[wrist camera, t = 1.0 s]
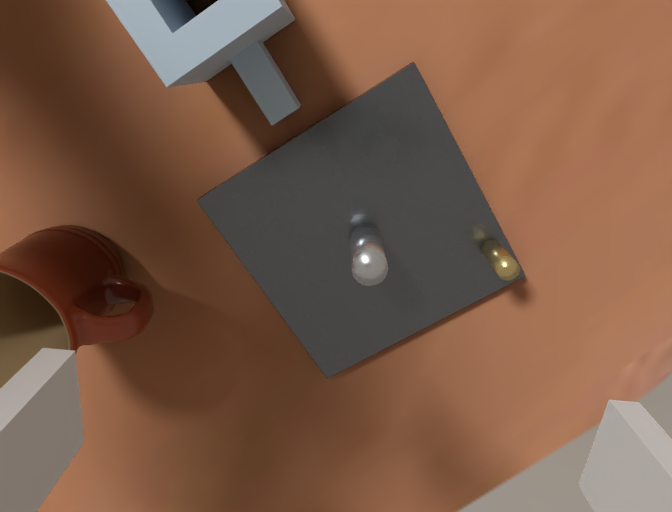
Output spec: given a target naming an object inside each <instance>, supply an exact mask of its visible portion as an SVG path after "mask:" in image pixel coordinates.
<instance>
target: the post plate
mask: <svg viewBox="0 0 672 512" xmlns="http://www.w3.org/2000/svg"><path fill="white" fill-rule="evenodd" d="M197 202H198V203H199V204H200V206H201V207H202V209H203V210H204V211H205V213H206V214H207V215H208V217H209V218H210V219H211V221H212V222H213V224H214V225H215V226H216V228H217V229H218V230H219V232H220V233H221V234H222V236H223V237H224V239H225V240H226V241H227V243H228V244H229V245H230V247H231V248H232V249H233V251H234V252H235V254H236V255H237V256H238V258H239V259H240V260H241V262H242V263H243V264H244V266H245V267H246V269H247V270H248V271H249V273H250V274H251V275H252V277H253V278H254V279H255V281H256V282H257V284H258V285H259V286H260V288H261V289H262V290H263V292H264V293H265V294H266V296H267V297H268V299H269V300H270V301H271V303H272V304H273V305H274V307H275V308H276V310H277V311H278V312H279V314H280V315H281V316H282V318H283V319H284V320H285V322H286V323H287V325H288V326H289V327H290V329H291V330H292V331H293V333H294V334H295V335H296V337H297V338H298V340H299V341H300V342H301V344H302V345H303V346H304V348H305V349H306V350H307V352H308V353H309V355H310V356H311V357H312V359H313V360H314V361H315V363H316V364H317V365H318V367H319V368H320V370H321V371H322V372H323V374H324V375H325V376H326V378H329V377H331V376H333V375H335V374H337V373H339V372H341V371H343V370H345V369H346V368H348V367H350V366H352V365H354V364H356V363H358V362H360V361H362V360H364V359H366V358H368V357H370V356H372V355H374V354H375V353H377V352H379V351H381V350H383V349H385V348H387V347H389V346H391V345H393V344H395V343H397V342H399V341H401V340H403V339H404V338H406V337H408V336H410V335H412V334H414V333H416V332H418V331H420V330H422V329H424V328H426V327H428V326H430V325H432V324H433V323H435V322H437V321H439V320H441V319H443V318H445V317H447V316H449V315H451V314H453V313H455V312H457V311H459V310H461V309H462V308H464V307H466V306H468V305H470V304H472V303H474V302H476V301H478V300H480V299H482V298H484V297H486V296H488V295H490V294H491V293H493V292H495V291H497V290H499V289H501V288H503V287H505V286H507V285H509V284H511V283H513V282H515V281H517V280H519V279H520V278H522V277H524V276H525V274H524V272H523V270H522V268H521V266H520V265H519V263H518V261H517V259H516V257H515V255H514V253H513V251H512V249H511V247H510V245H509V243H508V241H507V240H506V238H505V236H504V234H503V232H502V230H501V228H500V226H499V224H498V222H497V220H496V218H495V217H494V215H493V213H492V211H491V209H490V207H489V205H488V203H487V201H486V199H485V197H484V195H483V193H482V192H481V190H480V188H479V186H478V184H477V182H476V180H475V178H474V176H473V174H472V172H471V170H470V168H469V167H468V165H467V163H466V161H465V159H464V157H463V155H462V153H461V151H460V149H459V147H458V145H457V144H456V142H455V140H454V138H453V136H452V134H451V132H450V130H449V128H448V126H447V124H446V122H445V120H444V119H443V117H442V115H441V113H440V111H439V109H438V107H437V105H436V103H435V101H434V99H433V97H432V96H431V94H430V92H429V90H428V88H427V86H426V84H425V82H424V80H423V78H422V76H421V74H420V72H419V71H418V69H417V67H416V65H415V63H414V62H412V63H410V64H409V65H407V66H406V67H404V68H402V69H401V70H399V71H398V72H396V73H395V74H393V75H391V76H390V77H388V78H387V79H385V80H384V81H382V82H380V83H379V84H377V85H376V86H374V87H373V88H371V89H369V90H368V91H366V92H365V93H363V94H362V95H360V96H358V97H357V98H355V99H354V100H352V101H351V102H349V103H347V104H346V105H344V106H343V107H341V108H340V109H338V110H336V111H335V112H333V113H332V114H330V115H329V116H327V117H325V118H324V119H322V120H321V121H319V122H318V123H316V124H314V125H313V126H311V127H310V128H308V129H307V130H305V131H304V132H302V133H300V134H299V135H297V136H296V137H294V138H293V139H291V140H289V141H288V142H286V143H285V144H283V145H282V146H280V147H278V148H277V149H275V150H274V151H272V152H271V153H269V154H267V155H266V156H264V157H263V158H261V159H260V160H258V161H256V162H255V163H253V164H252V165H250V166H249V167H247V168H245V169H244V170H242V171H241V172H239V173H238V174H236V175H234V176H233V177H231V178H230V179H228V180H227V181H225V182H223V183H222V184H220V185H219V186H217V187H216V188H214V189H212V190H211V191H209V192H208V193H206V194H205V195H203V196H201V197H200V198H199V199H198V200H197Z"/></svg>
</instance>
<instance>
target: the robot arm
mask: <svg viewBox="0 0 672 512" xmlns="http://www.w3.org/2000/svg"><path fill="white" fill-rule="evenodd" d="M83 443H84V435H83V425H82V415H81V404H80V394H79V384H78V374H77V364H76V354H75V351H73V350H62V349H51V348H42V349H41V350H40V351H39V352H38V353H37V354H36V355H35V356H34V357H33V358H32V359H31V360H30V361H29V362H28V363H27V364H26V365H24V366H23V367H22V368H21V369H20V370H19V371H18V372H17V373H16V374H15V375H14V376H13V377H12V378H11V379H10V380H9V381H8V382H7V383H6V384H5V385H4V386H3V387H1V388H0V512H37V511H38V509H39V508H40V506H41V505H42V503H43V502H44V500H45V499H46V497H47V496H48V494H49V493H50V492H51V490H52V489H53V487H54V486H55V484H56V483H57V481H58V480H59V478H60V477H61V475H62V474H63V472H64V471H65V469H66V468H67V466H68V465H69V463H70V462H71V461H72V459H73V458H74V456H75V455H76V453H77V452H78V450H79V449H80V447H81V446H82V444H83ZM578 485H579V487H580V488H581V490H582V492H583V494H584V495H585V497H586V499H587V501H588V502H589V504H590V506H591V508H592V510H593V511H594V512H672V439H671V438H670V437H669V436H668V435H667V434H666V432H665V431H664V430H663V429H662V428H661V427H660V426H659V425H658V423H657V422H656V421H655V420H654V419H653V418H652V417H651V415H650V414H649V413H648V412H647V411H646V410H645V409H644V408H643V406H642V405H641V404H640V403H639V402H629V401H618V400H609V401H608V404H607V407H606V409H605V412H604V415H603V418H602V420H601V423H600V426H599V429H598V432H597V434H596V437H595V440H594V443H593V445H592V448H591V451H590V454H589V456H588V460H587V462H586V465H585V468H584V470H583V473H582V476H581V479H580V481H579V484H578Z"/></svg>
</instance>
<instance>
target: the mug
mask: <svg viewBox="0 0 672 512" xmlns="http://www.w3.org/2000/svg"><path fill="white" fill-rule="evenodd" d="M118 303H134V304H135V306H134V307H133V308H132V309H131V310H130V311H128V312H127V313H124V314H121V315H117V316H106V315H108V314H109V312H110V311H111V310H112V309H113V307H114V306H115V304H118ZM153 310H154V305H153V298H152V294H151V292H150V290H149V289H148V288H147V287H146V286H144V285H143V284H140V283H138V282H135V281H133V280H130V279H128V278H126V277H125V271H124V266H123V262H122V259H121V257H120V255H119V253H118V252H117V250H116V249H115V248H114V247H113V246H112V245H111V244H110V243H109V242H108V241H107V240H106V239H105V238H104V237H102V236H101V235H99V234H98V233H96V232H94V231H92V230H90V229H87V228H84V227H81V226H75V225H61V226H56V227H51V228H47V229H44V230H40V231H37V232H34V233H32V234H30V235H29V236H27V237H26V238H24V239H23V240H21V241H20V242H18V243H16V244H14V245H13V246H11V247H9V248H8V249H6V250H5V251H3V252H2V253H0V388H1V387H3V386H4V385H5V384H6V383H7V382H8V381H9V380H10V379H11V378H12V377H13V376H14V375H15V374H16V373H17V372H18V371H19V370H20V369H21V368H22V367H23V366H24V365H26V364H27V363H28V362H29V361H30V360H31V359H32V358H33V357H34V356H35V355H36V354H37V353H38V352H39V351H40V350H41V349H42V348H51V349H62V350H73V351H75V354H76V352H77V349H78V348H79V347H80V346H82V345H91V344H95V343H101V342H116V341H122V340H126V339H129V338H132V337H134V336H135V335H137V334H139V333H140V332H141V331H142V330H143V329H144V328H145V327H146V326H147V324H148V323H149V321H150V320H151V317H152V315H153Z"/></svg>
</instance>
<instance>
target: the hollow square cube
mask: <svg viewBox="0 0 672 512" xmlns="http://www.w3.org/2000/svg"><path fill="white" fill-rule="evenodd" d="M106 1H107V2H108V4H109V5H110V7H111V8H112V10H113V11H114V13H115V14H116V15H117V17H118V18H119V20H120V21H121V23H122V24H123V25H124V27H125V28H126V30H127V31H128V33H129V34H130V35H131V37H132V38H133V40H134V41H135V43H136V44H137V46H138V47H139V48H140V50H141V51H142V53H143V54H144V56H145V57H146V58H147V60H148V61H149V63H150V64H151V66H152V67H153V68H154V70H155V71H156V73H157V74H158V76H159V77H160V78H161V80H162V81H163V83H164V84H165V86H166V87H172V86H179V85H186V84H193V83H200V82H206V81H208V80H209V79H211V78H212V77H213V76H215V75H216V74H218V73H219V72H221V71H222V70H224V69H225V68H226V67H228V66H229V65H231V64H232V65H233V66H234V68H235V70H236V71H237V73H238V74H239V76H240V77H241V79H242V80H243V82H244V84H245V85H246V87H247V88H248V90H249V91H250V93H251V94H252V96H253V98H254V99H255V101H256V102H257V104H258V105H259V107H260V108H261V110H262V112H263V113H264V115H265V116H266V118H267V119H268V121H269V122H270V124H271V126H272V125H274V124H275V123H277V122H278V121H280V120H282V119H283V118H285V117H286V116H288V115H289V114H291V113H292V112H294V111H295V110H297V109H299V107H300V106H301V104H300V102H299V100H298V99H297V97H296V96H295V94H294V92H293V91H292V89H291V87H290V86H289V84H288V82H287V81H286V79H285V78H284V76H283V74H282V73H281V71H280V69H279V68H278V66H277V65H276V63H275V61H274V60H273V58H272V56H271V55H270V53H269V52H268V50H267V48H266V47H265V45H264V43H263V42H264V41H266V40H267V39H268V38H270V37H271V36H273V35H274V34H276V33H277V32H279V31H280V30H281V29H283V28H284V27H286V26H287V25H289V24H290V23H292V22H293V21H294V20H296V19H295V17H294V16H293V14H292V12H291V10H290V9H289V7H288V5H287V4H286V2H285V0H218V1H216V2H215V3H214V4H212V5H211V6H210V7H208V8H207V9H205V10H204V11H203V12H201V13H200V14H199V15H197V16H196V15H195V14H194V12H193V11H192V9H191V7H190V6H189V4H188V3H187V1H186V0H106Z"/></svg>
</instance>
